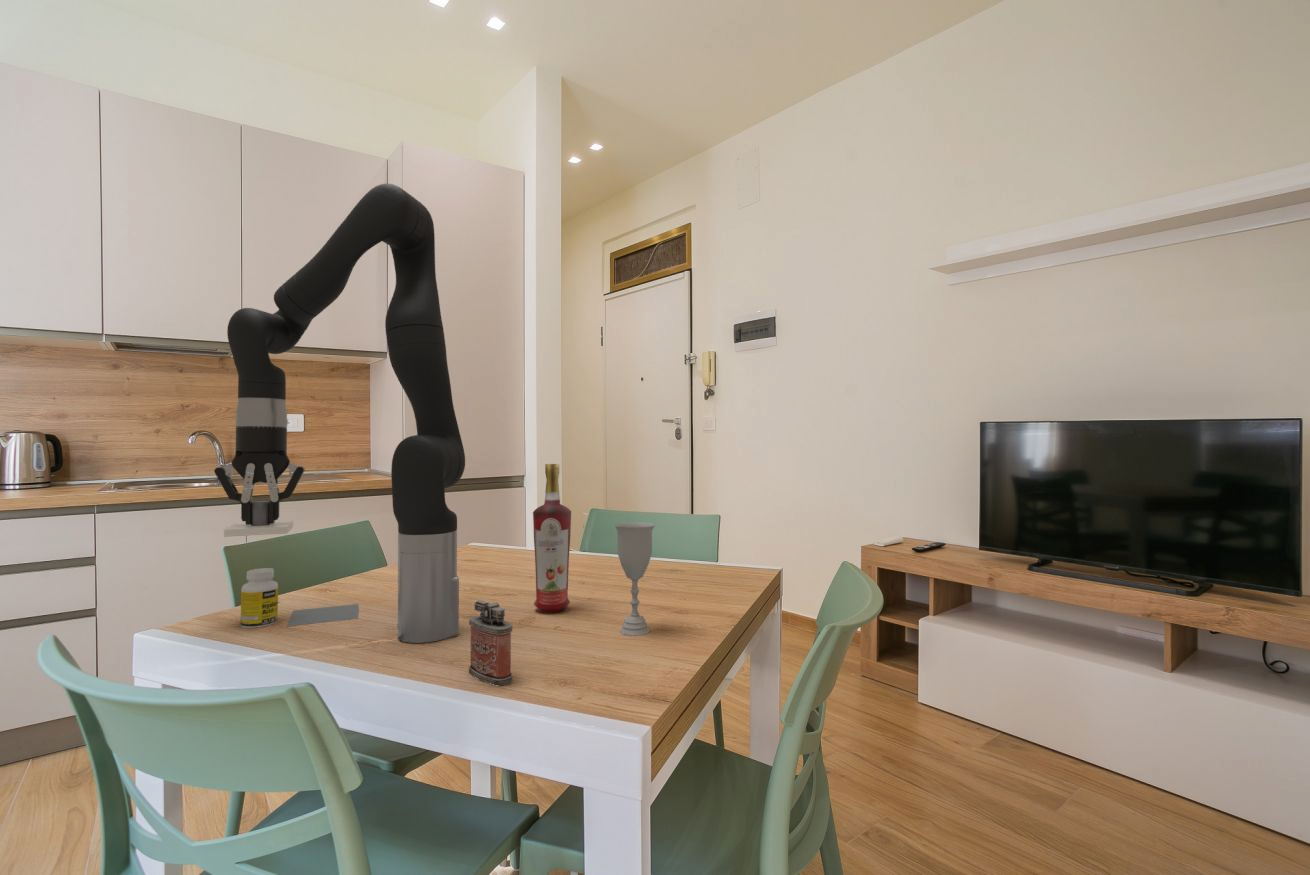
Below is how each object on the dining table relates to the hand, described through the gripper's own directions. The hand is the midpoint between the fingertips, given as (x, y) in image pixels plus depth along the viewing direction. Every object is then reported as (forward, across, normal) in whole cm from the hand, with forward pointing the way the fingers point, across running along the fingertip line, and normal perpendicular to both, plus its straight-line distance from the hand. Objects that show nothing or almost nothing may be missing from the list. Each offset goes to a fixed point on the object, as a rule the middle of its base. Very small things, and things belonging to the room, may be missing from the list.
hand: (260, 523), depth 105 cm
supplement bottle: (+18, 0, 0) cm, 18 cm away
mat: (+18, +10, +1) cm, 21 cm away
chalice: (+18, +58, -31) cm, 68 cm away
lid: (+2, 0, 0) cm, 2 cm away
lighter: (+18, +32, -41) cm, 55 cm away
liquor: (+18, +49, -12) cm, 54 cm away
